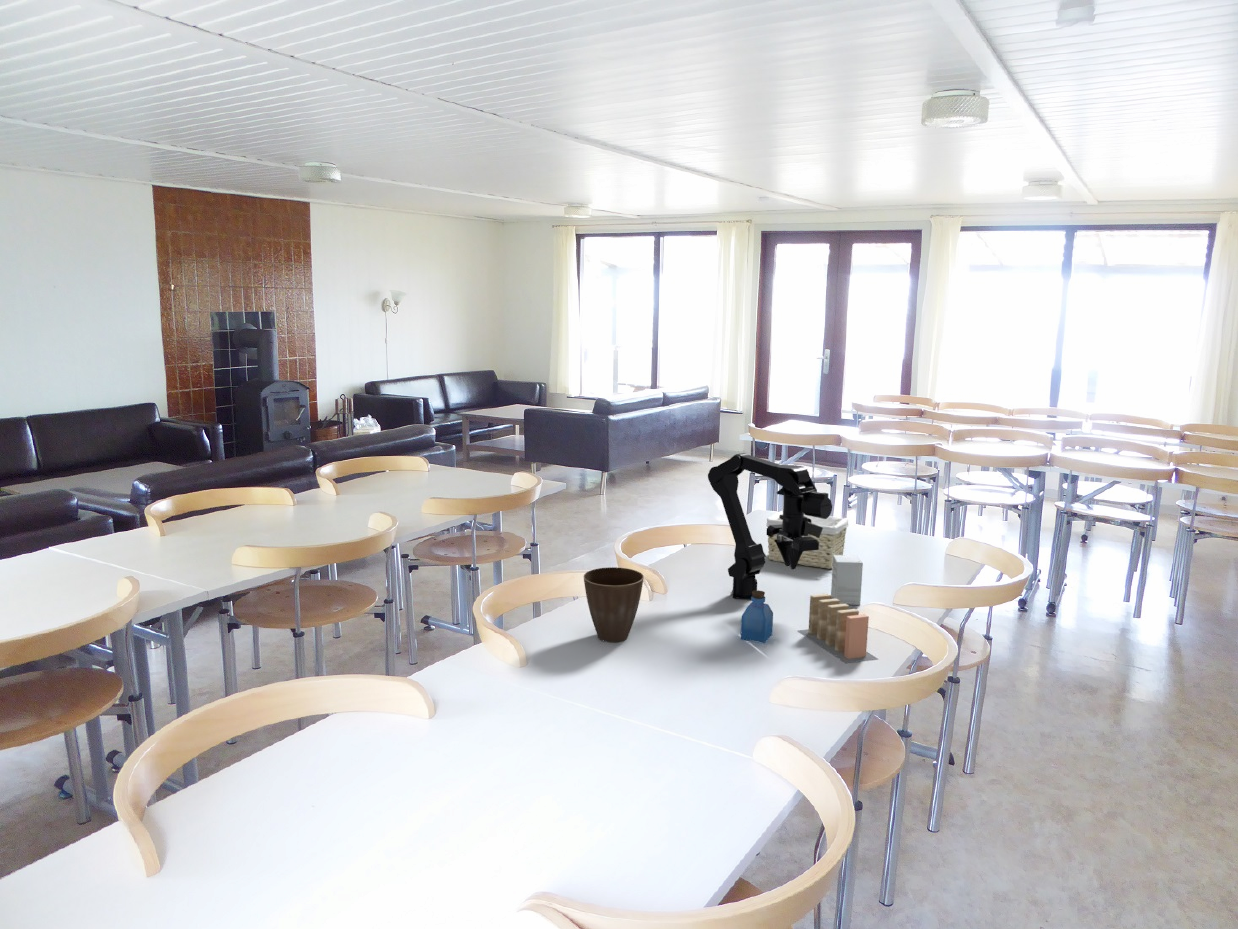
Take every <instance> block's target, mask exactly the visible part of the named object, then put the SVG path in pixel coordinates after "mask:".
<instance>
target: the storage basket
mask: <svg viewBox="0 0 1238 929" xmlns="http://www.w3.org/2000/svg"><path fill="white" fill-rule="evenodd" d="M780 515H783V510H780V511H777V512H776V513H774V514H773V515H771V516H768V517H767V518H766V528H768V527H769V525H780V524H782V519H780ZM804 516H805V517H807V518H809V519H811V523H813V524H816V525H818V526H820V527H823V530H822V532H821V535H820V538H817V537H816V536H813V535H810V534H808V536H802V537H812V538H814V539H817V540H818V541H819V550H812V551H803V553H802V554H801V557H800V559H799V561H798V564H797V565H799V566H800V565H802V566H806V567H814V568H823V569H828V570H830V569H831V570H832V567H833V555H844V552H845V551H844V549H845V542H846V534H847V528H848V527H849V519H848V518H847V517H838V516H831V515H830V516H829V517H828V518H827V519H822V518H817V517H812V516H807V515H805V514H804ZM767 537H768V538H767V544H768V546H767V548H768V552H767V553H768V559H769V561H774V562H778V563H779V562H780V563H785V562H784V560H783V558H782V555H781V553H780V551H779V548H778V546H777V544H776V542H775V541H774V540H775V539H777V535H776V534H774V536H773V537H770V536H768V535H767Z"/></svg>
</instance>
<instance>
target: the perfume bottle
mask: <svg viewBox="0 0 1238 929" xmlns="http://www.w3.org/2000/svg"><path fill="white" fill-rule="evenodd" d="M752 594H753V596H751V599H750V600H751V602H750V604H748V605H747V607H746V608H745V610H744V611H743V613H742V615H741V620H740V621H741V624H740V640H742V641H746V642H748V641H752V642H757V643H762V644H765V643H766V642H767V641H768V640H769V639H770V638H771V637H772V636H773V625H774V623H773V621H774V612H773V610H772V608H771V607H770V605H769V604H768V603H765V602H766V596H765V594H766V592H765V591H763V590H758V589H757V590H755V591H752Z"/></svg>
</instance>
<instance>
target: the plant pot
mask: <svg viewBox="0 0 1238 929" xmlns="http://www.w3.org/2000/svg"><path fill="white" fill-rule="evenodd" d="M644 578H645V577H644V575H643V573H642V572H640V571H638V570H635V569H631V568H627V567H617V566H616V567H615V566H614V567H613V566H612V567H601V568H599V567H598V568H595V569H592V570H589V571H586V572H585V573H584V574H583V583H584V589H585V590H584V591H585V596H586V602H587V606H588V609H589V614H590V617H591V620H592V624H593V625H594V626H593V627H594V629H595V632H596V635H597V637H598V639H599V638H600V640H601V641H603V640H604V641H603V642H606V641H607V642H606V643H619V642H624V641H626V640H627V639H628V637H629V634H630V633H631V629H632V628H633V625H634V621H635V618H636V615H637V612H638V609H639V605H640V600H641V596H642V590H643V585H644Z"/></svg>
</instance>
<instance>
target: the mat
mask: <svg viewBox="0 0 1238 929" xmlns="http://www.w3.org/2000/svg"><path fill="white" fill-rule="evenodd" d="M808 629H809V628H807V629H801V630H797V632H798V633H800V634H801V635H803V636H804V637H805V638H807V639H808V640H810V641H812V642H813V643H814V644H816V645H817V646H819V647H820V648H821V649H823V650H825V651H826V652H828V653H829V654H831V655H832V656H834V657H835V658H837V659H839V660H840V661H842V662H843V663H845V664H854V663H862V662H866V661H867V662H868V661H874V660H875V661H876V660H879V658H878V657H876V656H874V655H873V654H871V653H869V652H868V651H867V650H866V656H865V657H858V658H850V659H848V658H846V657H844V652H839V653H838V652H837V651H835V646H828V645H826V640H821V641H820V640H819V639H817V634H815V635H811V634H809V633H808Z"/></svg>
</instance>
